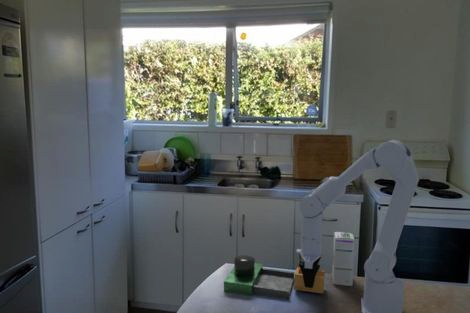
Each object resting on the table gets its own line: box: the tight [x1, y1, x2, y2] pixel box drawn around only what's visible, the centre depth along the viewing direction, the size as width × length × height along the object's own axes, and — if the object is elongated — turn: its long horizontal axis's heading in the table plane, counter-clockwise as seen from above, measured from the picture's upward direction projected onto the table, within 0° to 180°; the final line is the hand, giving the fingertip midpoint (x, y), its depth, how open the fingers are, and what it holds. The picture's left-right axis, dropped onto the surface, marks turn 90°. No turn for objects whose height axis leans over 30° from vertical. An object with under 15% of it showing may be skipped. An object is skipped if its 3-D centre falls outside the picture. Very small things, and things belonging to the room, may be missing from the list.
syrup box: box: [331, 231, 355, 287], centre depth 114 cm, size 6×6×14 cm
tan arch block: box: [293, 266, 326, 294], centre depth 108 cm, size 8×5×4 cm, turn 74°
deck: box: [223, 255, 296, 300], centre depth 112 cm, size 18×15×7 cm
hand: (309, 282), depth 108 cm, fingers closed on tan arch block, 5 cm apart
